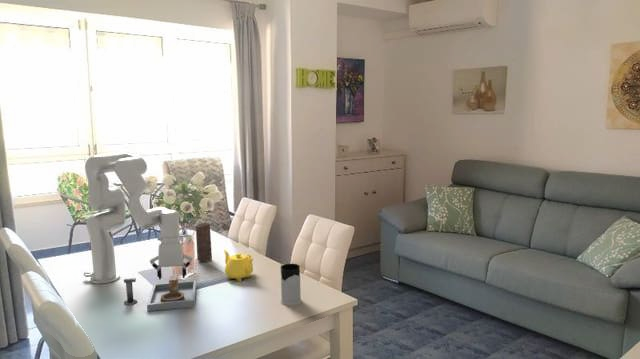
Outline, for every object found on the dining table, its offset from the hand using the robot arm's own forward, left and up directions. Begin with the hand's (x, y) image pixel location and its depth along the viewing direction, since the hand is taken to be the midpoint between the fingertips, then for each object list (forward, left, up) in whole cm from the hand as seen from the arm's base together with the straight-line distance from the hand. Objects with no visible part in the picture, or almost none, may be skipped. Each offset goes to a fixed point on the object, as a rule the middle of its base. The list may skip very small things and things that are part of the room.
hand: (172, 277), depth 205 cm
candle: (+13, +41, -8) cm, 43 cm away
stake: (-16, -5, -7) cm, 19 cm away
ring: (+1, -5, -7) cm, 9 cm away
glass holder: (+48, -17, -8) cm, 51 cm away
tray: (+1, -5, -7) cm, 9 cm away
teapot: (+30, +14, -8) cm, 33 cm away
